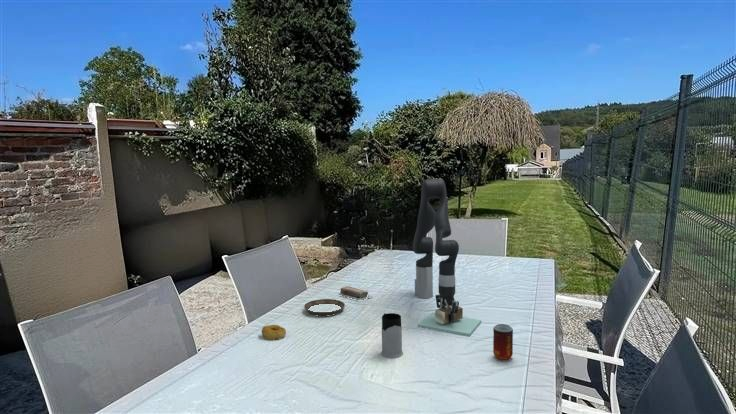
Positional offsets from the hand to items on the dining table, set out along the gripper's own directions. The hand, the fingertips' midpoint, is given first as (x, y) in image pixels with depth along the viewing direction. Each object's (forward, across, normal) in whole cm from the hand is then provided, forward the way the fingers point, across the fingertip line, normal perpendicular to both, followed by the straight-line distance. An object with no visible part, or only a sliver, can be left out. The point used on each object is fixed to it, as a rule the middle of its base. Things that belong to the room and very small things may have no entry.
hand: (446, 319), depth 199 cm
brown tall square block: (-2, 0, +7) cm, 8 cm away
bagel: (+3, -31, -71) cm, 78 cm away
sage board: (+2, 0, +1) cm, 3 cm away
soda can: (+3, +37, -4) cm, 37 cm away
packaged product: (+3, -61, -15) cm, 63 cm away
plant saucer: (+3, -49, -39) cm, 63 cm away
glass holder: (+3, +8, -37) cm, 38 cm away
